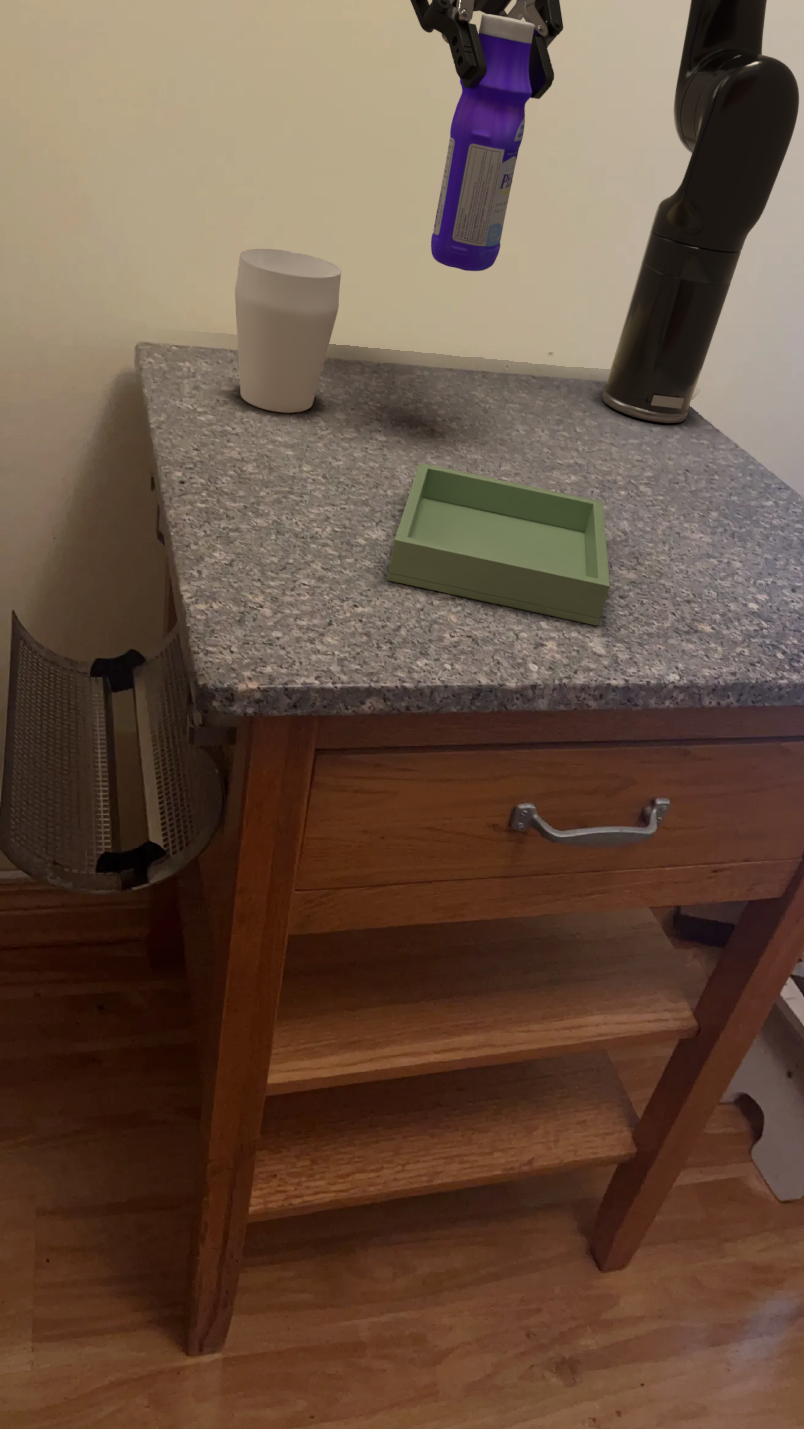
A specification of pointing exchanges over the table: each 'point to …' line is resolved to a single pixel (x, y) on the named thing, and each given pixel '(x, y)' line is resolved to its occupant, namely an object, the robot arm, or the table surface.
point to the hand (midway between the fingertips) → (510, 85)
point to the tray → (503, 544)
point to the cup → (283, 326)
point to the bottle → (484, 149)
